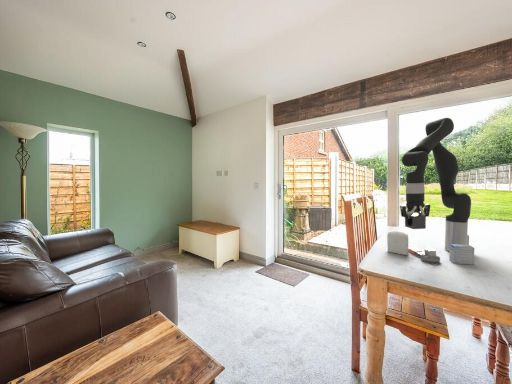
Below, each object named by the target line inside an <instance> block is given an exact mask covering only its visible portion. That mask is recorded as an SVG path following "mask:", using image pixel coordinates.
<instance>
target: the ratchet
mask: <svg viewBox="0 0 512 384" xmlns="http://www.w3.org/2000/svg"><path fill="white" fill-rule="evenodd" d="M408 254H412V255H413V256H416V257H417V258H420V261H422V262H423V263H426V264H431V265H439V264H440V263H441V257H440V256H438V255H437V250H436V249H433V248H424V252H423V251H422V250H420V249H418V248H415V247H408Z"/></svg>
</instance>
